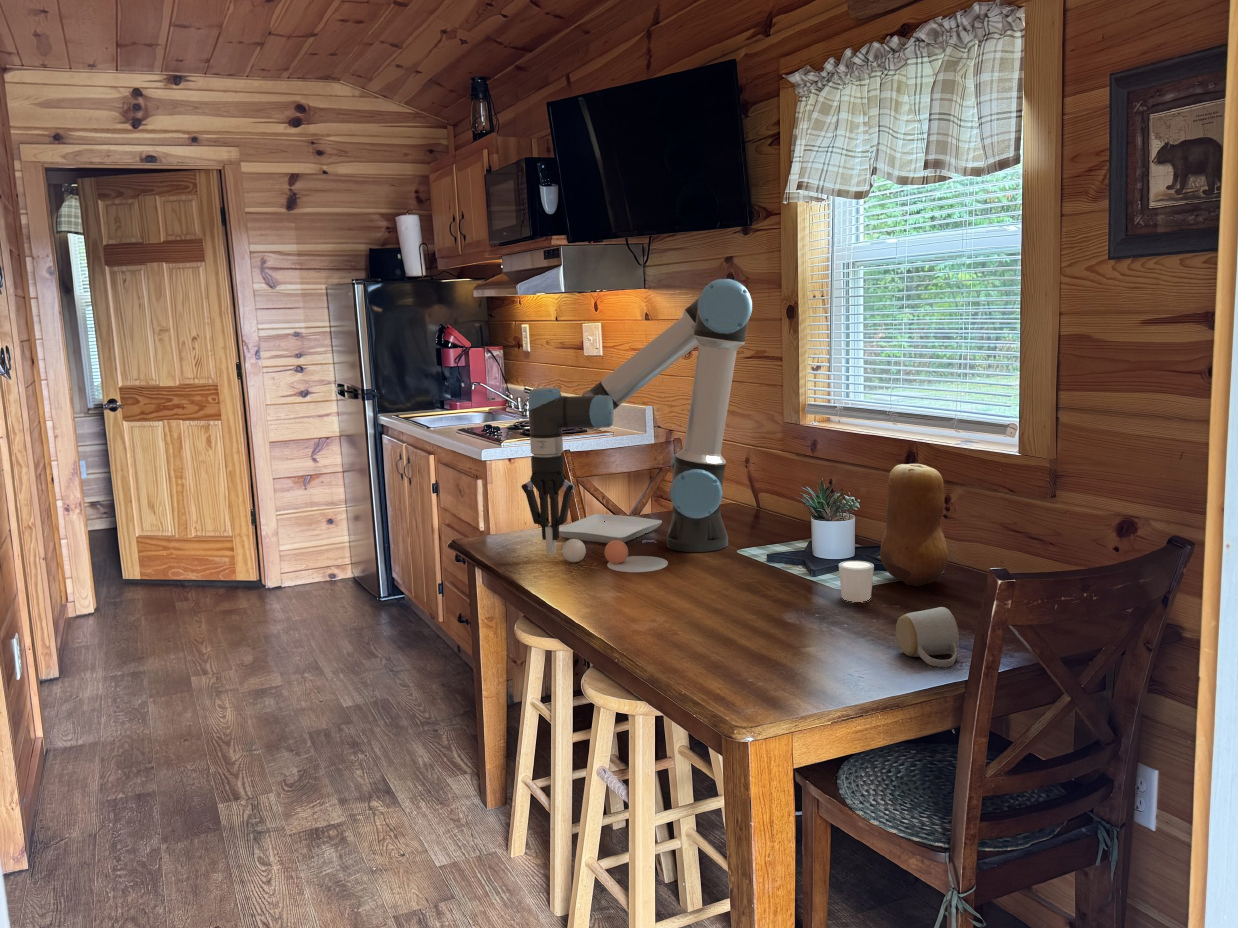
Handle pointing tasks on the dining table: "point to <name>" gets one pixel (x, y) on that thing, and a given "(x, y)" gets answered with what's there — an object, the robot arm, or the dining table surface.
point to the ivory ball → (574, 550)
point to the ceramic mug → (928, 635)
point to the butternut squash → (914, 525)
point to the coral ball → (616, 552)
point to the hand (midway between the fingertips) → (551, 553)
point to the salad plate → (608, 528)
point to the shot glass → (856, 580)
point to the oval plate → (639, 564)
